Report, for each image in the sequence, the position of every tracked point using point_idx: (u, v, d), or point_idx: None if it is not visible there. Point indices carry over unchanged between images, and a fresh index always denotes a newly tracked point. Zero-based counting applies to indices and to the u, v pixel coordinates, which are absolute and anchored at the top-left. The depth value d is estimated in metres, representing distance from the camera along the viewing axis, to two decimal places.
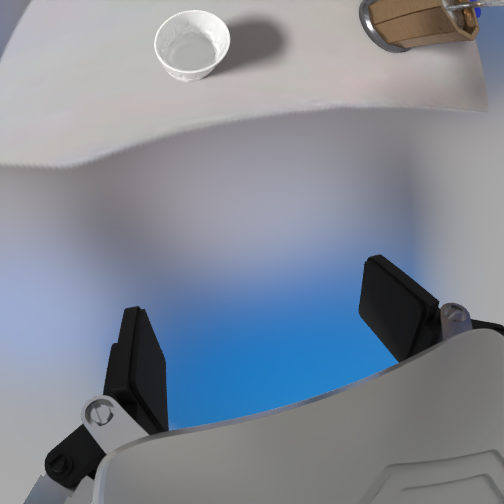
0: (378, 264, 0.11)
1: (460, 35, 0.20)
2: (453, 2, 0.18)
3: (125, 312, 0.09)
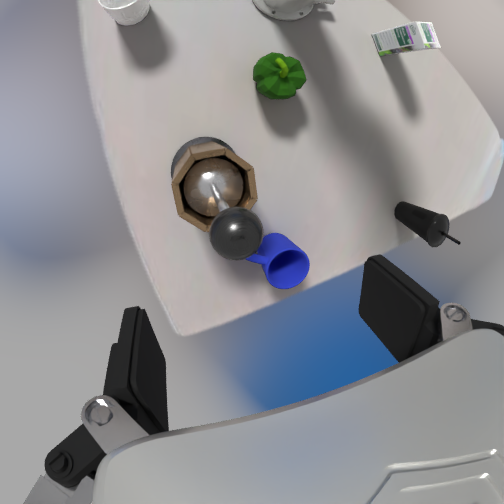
0: (378, 264, 0.11)
1: None
2: (230, 198, 0.36)
3: (125, 312, 0.09)
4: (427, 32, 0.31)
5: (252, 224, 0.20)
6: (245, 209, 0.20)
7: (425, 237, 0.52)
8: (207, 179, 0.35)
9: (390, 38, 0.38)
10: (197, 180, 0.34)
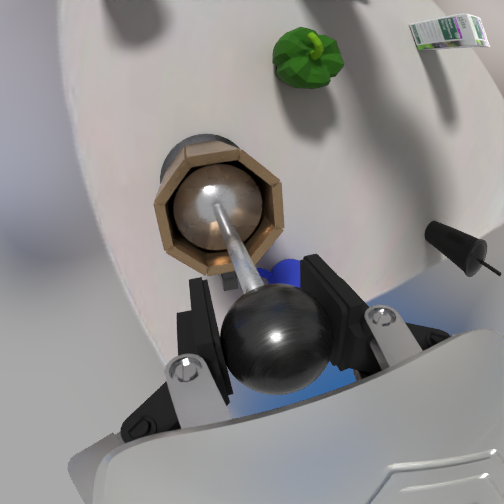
0: (311, 263, 0.11)
1: None
2: (242, 224, 0.25)
3: (190, 282, 0.11)
4: (477, 27, 0.20)
5: (322, 337, 0.08)
6: (303, 297, 0.09)
7: (462, 266, 0.41)
8: (209, 196, 0.23)
9: (433, 30, 0.27)
10: (194, 197, 0.23)
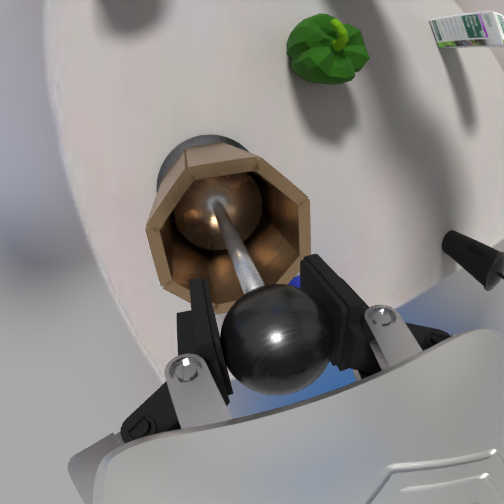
0: (311, 263, 0.11)
1: None
2: (242, 224, 0.25)
3: (190, 282, 0.11)
4: (503, 26, 0.15)
5: (322, 337, 0.08)
6: (303, 297, 0.09)
7: (482, 280, 0.36)
8: (209, 196, 0.23)
9: (456, 27, 0.23)
10: (194, 197, 0.23)
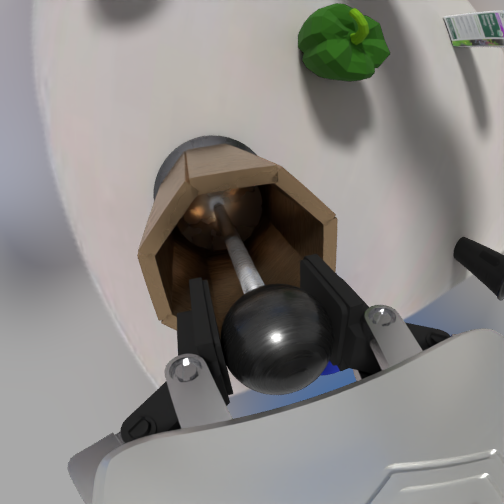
0: (311, 263, 0.11)
1: None
2: (242, 224, 0.25)
3: (190, 282, 0.11)
4: None
5: (322, 337, 0.08)
6: (303, 297, 0.09)
7: (495, 289, 0.33)
8: (209, 196, 0.23)
9: (472, 25, 0.20)
10: None
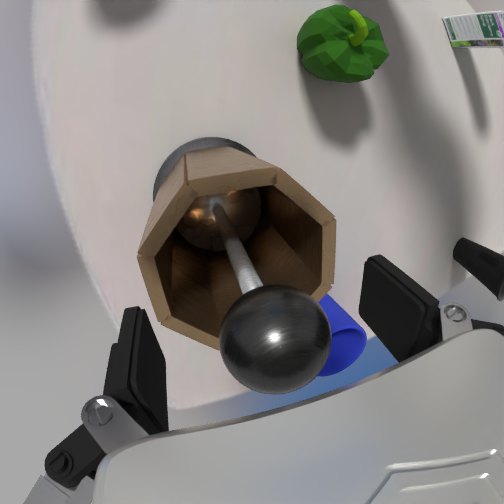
0: (378, 264, 0.11)
1: None
2: (241, 225, 0.25)
3: (125, 312, 0.09)
4: None
5: (319, 337, 0.08)
6: (301, 297, 0.09)
7: (495, 290, 0.33)
8: (208, 197, 0.23)
9: (471, 26, 0.20)
10: None
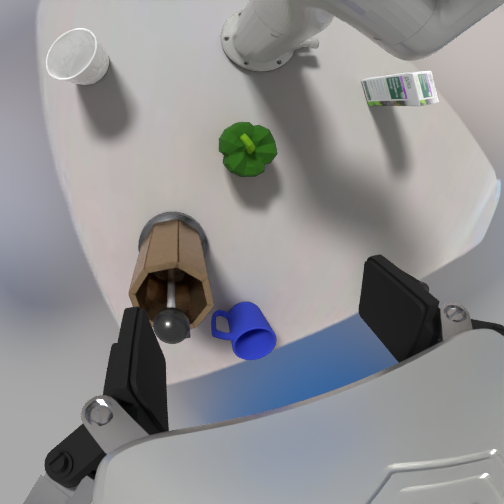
0: (378, 264, 0.11)
1: None
2: None
3: (125, 312, 0.09)
4: (424, 85, 0.32)
5: (178, 324, 0.27)
6: (175, 312, 0.28)
7: None
8: None
9: (382, 88, 0.39)
10: None
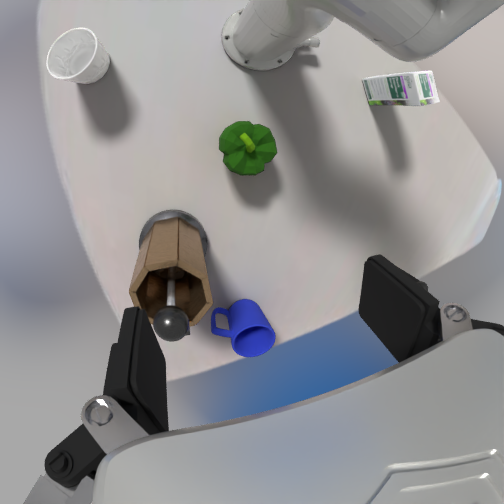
0: (378, 264, 0.11)
1: None
2: None
3: (125, 312, 0.09)
4: (425, 85, 0.32)
5: (178, 322, 0.28)
6: (174, 310, 0.28)
7: None
8: None
9: (382, 88, 0.39)
10: None
